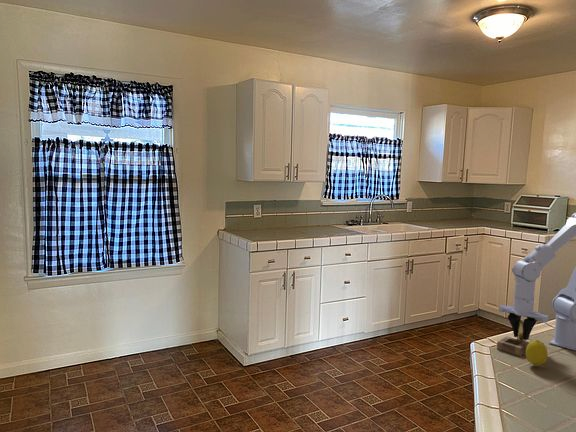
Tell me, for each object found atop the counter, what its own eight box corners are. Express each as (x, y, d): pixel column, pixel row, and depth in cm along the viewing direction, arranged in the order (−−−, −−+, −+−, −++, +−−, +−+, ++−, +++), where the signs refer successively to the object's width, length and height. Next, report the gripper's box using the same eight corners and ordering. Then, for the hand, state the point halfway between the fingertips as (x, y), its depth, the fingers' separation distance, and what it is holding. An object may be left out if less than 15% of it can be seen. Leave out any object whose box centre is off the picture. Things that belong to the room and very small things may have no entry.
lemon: (549, 371, 125) (551, 344, 124) (528, 369, 126) (530, 342, 125) (542, 363, 131) (544, 337, 130) (522, 361, 132) (524, 335, 131)
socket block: (506, 343, 145) (507, 336, 145) (528, 350, 140) (529, 342, 140) (497, 348, 141) (497, 341, 141) (519, 355, 136) (520, 348, 135)
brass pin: (518, 342, 146) (519, 319, 145) (526, 345, 144) (527, 321, 143) (515, 344, 145) (516, 321, 144) (523, 347, 143) (524, 323, 142)
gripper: (496, 294, 146) (493, 334, 147) (543, 305, 135) (540, 347, 136) (505, 291, 150) (502, 329, 152) (552, 301, 139) (548, 342, 141)
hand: (521, 337), depth 144 cm, fingers closed on brass pin, 2 cm apart
